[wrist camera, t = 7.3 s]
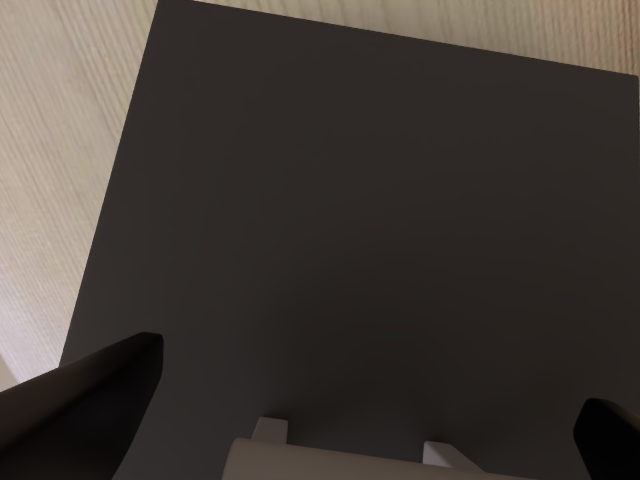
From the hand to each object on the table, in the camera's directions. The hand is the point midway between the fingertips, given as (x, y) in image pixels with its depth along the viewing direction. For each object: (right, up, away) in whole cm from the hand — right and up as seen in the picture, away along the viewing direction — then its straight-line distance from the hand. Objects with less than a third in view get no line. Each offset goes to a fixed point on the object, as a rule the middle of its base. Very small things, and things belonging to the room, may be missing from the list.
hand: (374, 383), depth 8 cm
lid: (0, +2, +3) cm, 4 cm away
